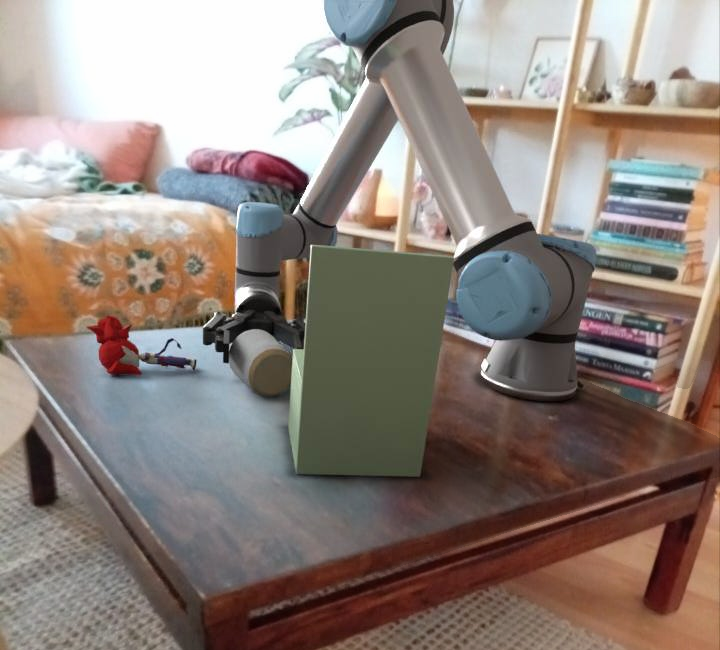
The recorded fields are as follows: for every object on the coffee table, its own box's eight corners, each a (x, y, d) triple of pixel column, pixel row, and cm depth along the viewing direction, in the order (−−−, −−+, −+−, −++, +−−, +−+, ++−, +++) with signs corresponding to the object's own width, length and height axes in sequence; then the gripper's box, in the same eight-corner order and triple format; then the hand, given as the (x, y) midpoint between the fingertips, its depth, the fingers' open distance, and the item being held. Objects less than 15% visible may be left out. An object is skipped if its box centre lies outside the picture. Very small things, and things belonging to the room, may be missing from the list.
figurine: (192, 388, 105) (85, 375, 101) (197, 332, 105) (91, 316, 101) (194, 383, 99) (81, 368, 95) (200, 324, 99) (87, 306, 95)
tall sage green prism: (396, 431, 91) (423, 237, 80) (420, 477, 79) (454, 257, 69) (288, 427, 88) (300, 226, 77) (296, 474, 77) (311, 246, 66)
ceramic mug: (248, 401, 94) (250, 346, 91) (226, 381, 101) (228, 328, 97) (318, 396, 100) (323, 343, 96) (293, 377, 106) (297, 327, 102)
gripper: (322, 340, 117) (340, 385, 98) (189, 332, 113) (179, 378, 94) (326, 294, 114) (345, 332, 94) (189, 285, 110) (178, 322, 90)
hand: (262, 355), depth 94 cm, fingers closed on ceramic mug, 9 cm apart
